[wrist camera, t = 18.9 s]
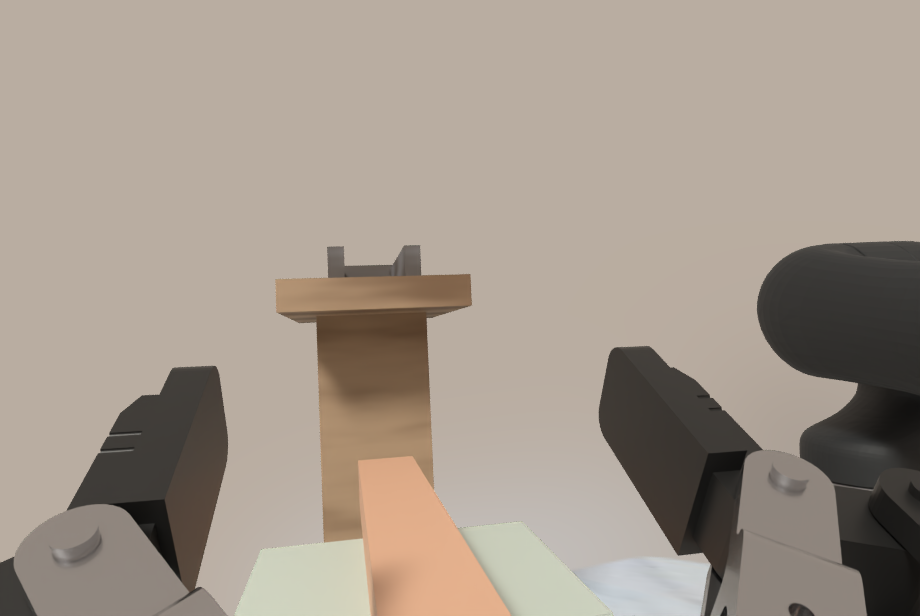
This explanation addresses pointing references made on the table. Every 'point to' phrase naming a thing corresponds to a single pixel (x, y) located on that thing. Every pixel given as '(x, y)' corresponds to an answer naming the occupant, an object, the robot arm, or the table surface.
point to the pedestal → (346, 591)
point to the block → (416, 548)
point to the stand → (370, 368)
